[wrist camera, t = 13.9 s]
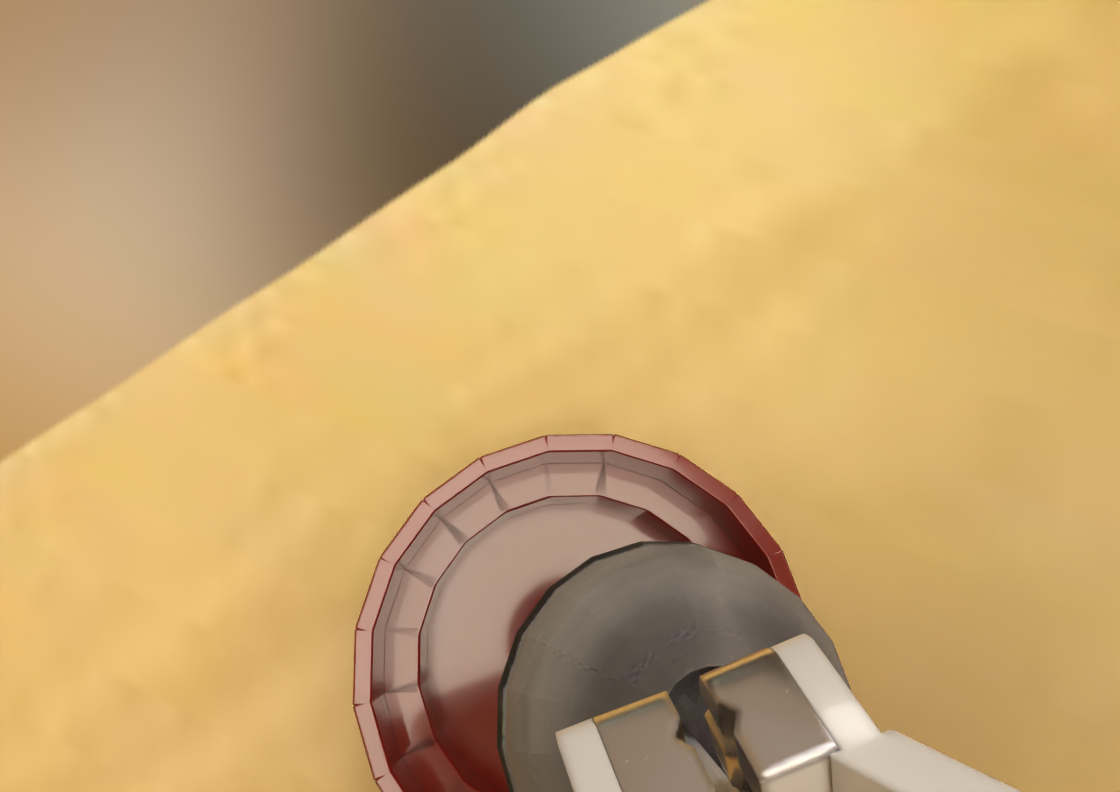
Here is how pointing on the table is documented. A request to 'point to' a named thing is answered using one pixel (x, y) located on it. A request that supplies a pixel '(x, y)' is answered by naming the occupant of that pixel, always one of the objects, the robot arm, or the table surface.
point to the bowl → (510, 587)
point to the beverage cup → (636, 648)
